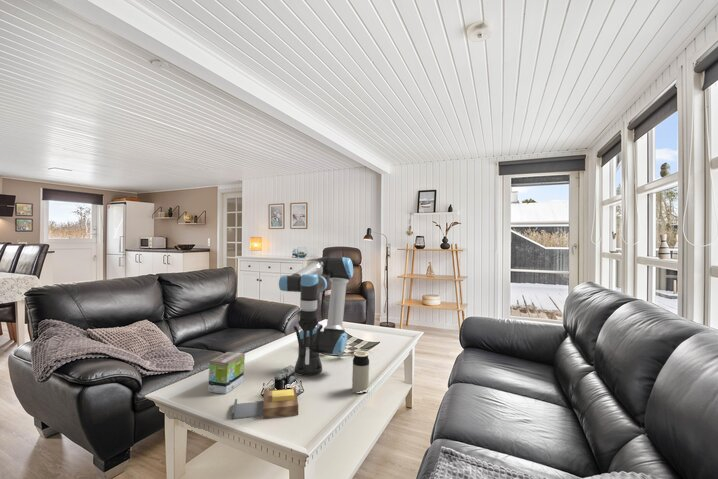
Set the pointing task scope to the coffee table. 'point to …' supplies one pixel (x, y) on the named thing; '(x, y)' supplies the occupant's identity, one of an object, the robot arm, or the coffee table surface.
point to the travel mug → (360, 371)
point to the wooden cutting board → (279, 406)
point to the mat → (247, 410)
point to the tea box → (226, 372)
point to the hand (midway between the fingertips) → (307, 363)
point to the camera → (284, 378)
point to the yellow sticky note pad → (282, 395)
